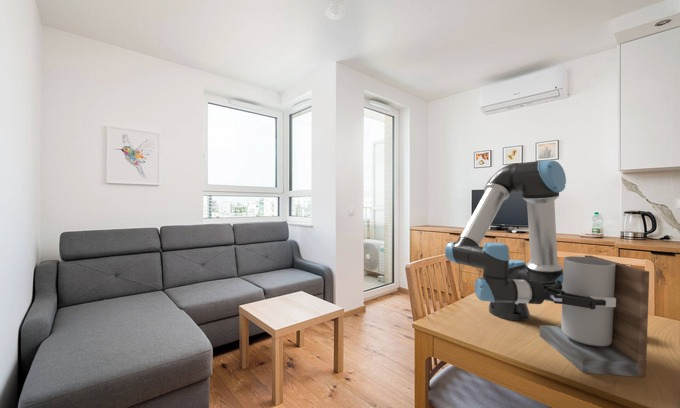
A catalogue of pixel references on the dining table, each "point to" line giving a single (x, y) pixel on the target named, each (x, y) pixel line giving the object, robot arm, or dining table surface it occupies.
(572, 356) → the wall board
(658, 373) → the dining table surface
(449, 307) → the dining table surface
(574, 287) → the cylinder vase
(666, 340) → the dining table surface
